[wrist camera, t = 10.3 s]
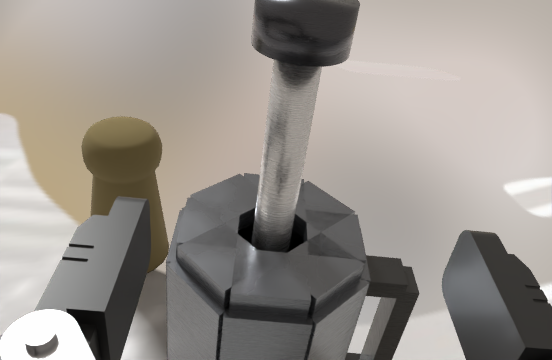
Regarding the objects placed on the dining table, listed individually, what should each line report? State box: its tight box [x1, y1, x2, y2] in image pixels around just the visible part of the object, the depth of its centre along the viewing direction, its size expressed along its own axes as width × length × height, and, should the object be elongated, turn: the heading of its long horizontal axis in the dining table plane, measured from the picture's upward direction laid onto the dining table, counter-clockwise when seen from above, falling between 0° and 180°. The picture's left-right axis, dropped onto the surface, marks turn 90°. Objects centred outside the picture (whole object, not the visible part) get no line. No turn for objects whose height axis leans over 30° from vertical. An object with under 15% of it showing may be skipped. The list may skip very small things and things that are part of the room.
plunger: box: [251, 0, 360, 253], centre depth 23 cm, size 6×6×21 cm
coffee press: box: [166, 173, 419, 360], centre depth 27 cm, size 12×9×13 cm
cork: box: [82, 117, 169, 273], centre depth 36 cm, size 6×6×11 cm
